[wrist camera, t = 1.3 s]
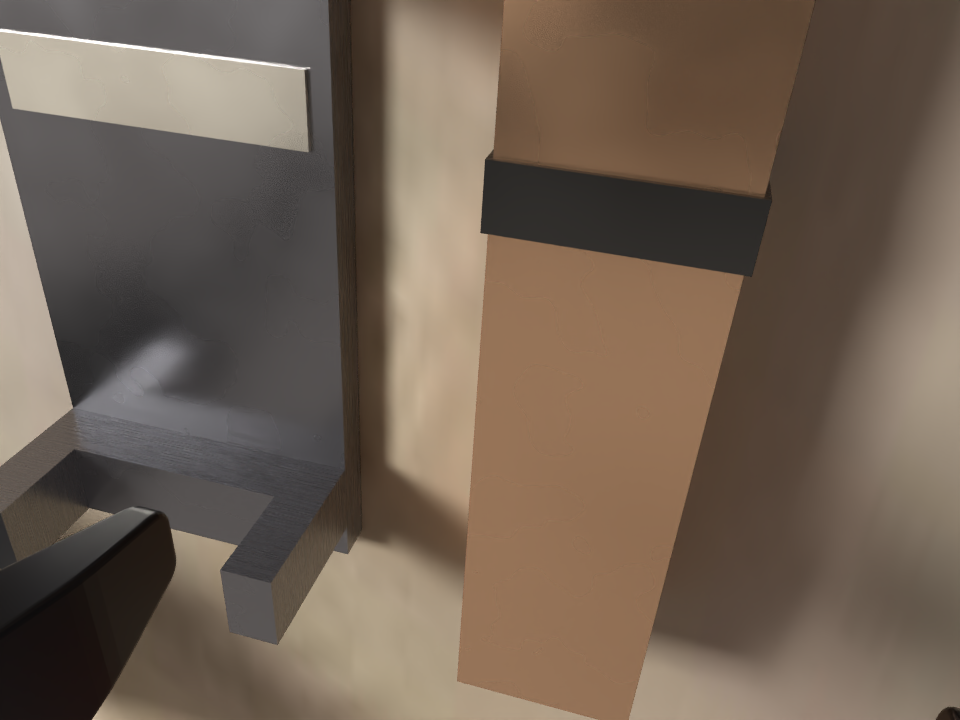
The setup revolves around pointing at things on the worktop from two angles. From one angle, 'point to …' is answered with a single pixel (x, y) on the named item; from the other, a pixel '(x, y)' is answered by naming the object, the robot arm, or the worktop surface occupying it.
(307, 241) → the collar stand
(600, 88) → the banded tan post
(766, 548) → the worktop surface
